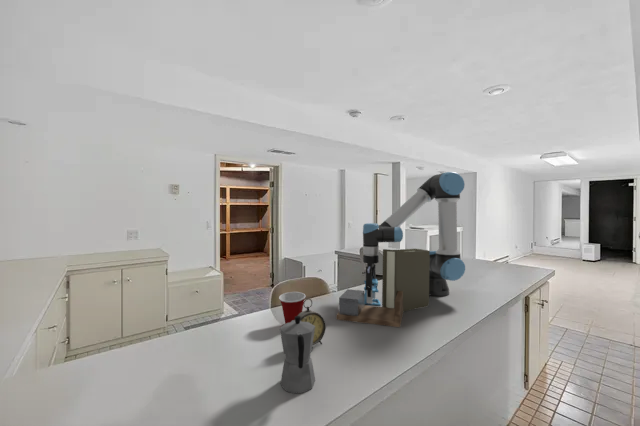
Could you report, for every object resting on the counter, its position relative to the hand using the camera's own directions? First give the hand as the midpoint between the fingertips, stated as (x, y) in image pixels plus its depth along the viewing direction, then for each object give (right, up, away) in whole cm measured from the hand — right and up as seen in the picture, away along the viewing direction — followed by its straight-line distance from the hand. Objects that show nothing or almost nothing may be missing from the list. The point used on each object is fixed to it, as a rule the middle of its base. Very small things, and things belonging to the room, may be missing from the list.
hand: (371, 300), depth 147 cm
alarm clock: (-29, -2, -46) cm, 54 cm away
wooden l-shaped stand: (-3, -1, -18) cm, 19 cm away
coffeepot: (-31, -2, -69) cm, 75 cm away
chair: (0, -1, 0) cm, 1 cm away
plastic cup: (-36, -2, -27) cm, 46 cm away
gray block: (-11, +1, -16) cm, 19 cm away
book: (+16, -2, -6) cm, 17 cm away
